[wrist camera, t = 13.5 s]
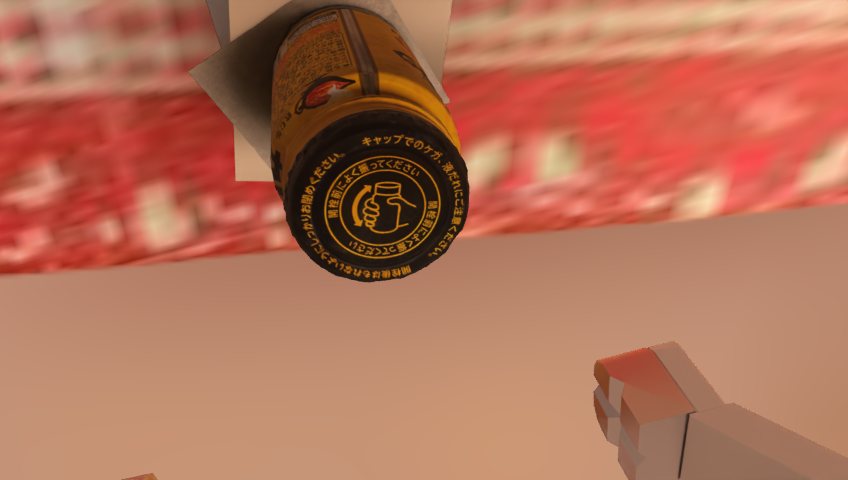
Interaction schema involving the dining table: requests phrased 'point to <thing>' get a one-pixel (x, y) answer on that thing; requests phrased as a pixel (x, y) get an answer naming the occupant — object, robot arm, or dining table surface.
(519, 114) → the dining table surface
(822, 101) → the dining table surface
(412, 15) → the tower block upper
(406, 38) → the condiment
